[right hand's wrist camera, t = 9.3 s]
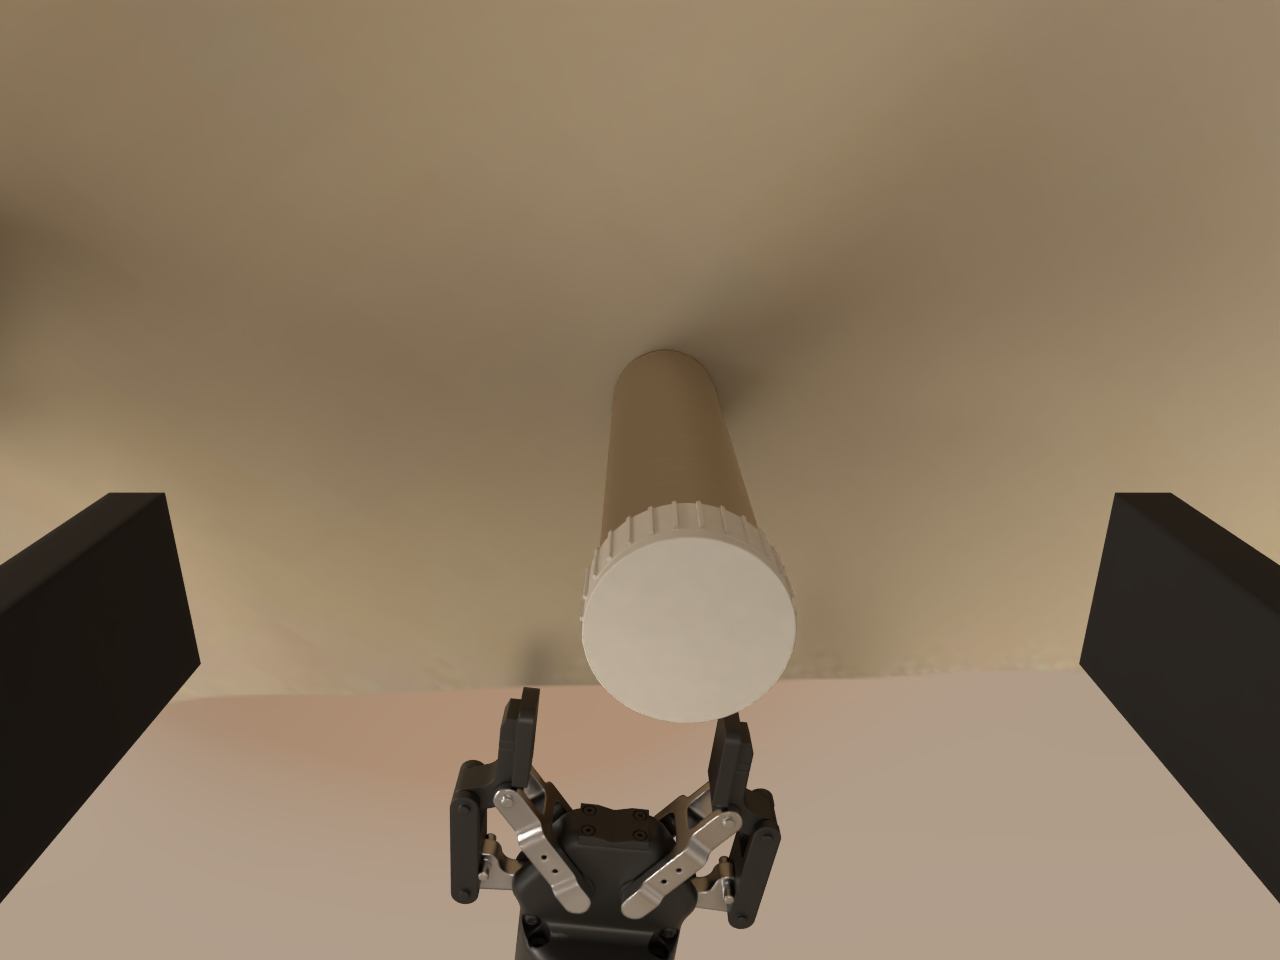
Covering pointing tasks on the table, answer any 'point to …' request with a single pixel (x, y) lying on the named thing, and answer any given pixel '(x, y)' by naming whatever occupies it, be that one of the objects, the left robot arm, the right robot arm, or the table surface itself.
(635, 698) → the lid
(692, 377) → the tan tube
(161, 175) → the table surface
